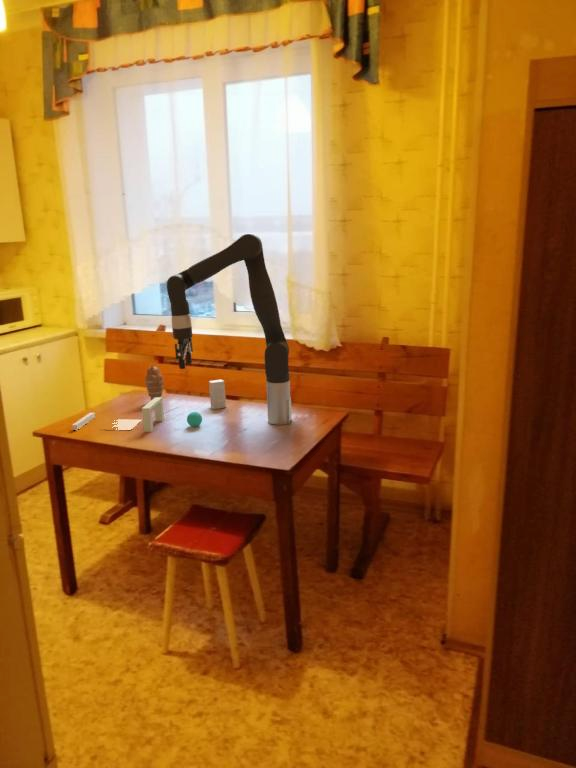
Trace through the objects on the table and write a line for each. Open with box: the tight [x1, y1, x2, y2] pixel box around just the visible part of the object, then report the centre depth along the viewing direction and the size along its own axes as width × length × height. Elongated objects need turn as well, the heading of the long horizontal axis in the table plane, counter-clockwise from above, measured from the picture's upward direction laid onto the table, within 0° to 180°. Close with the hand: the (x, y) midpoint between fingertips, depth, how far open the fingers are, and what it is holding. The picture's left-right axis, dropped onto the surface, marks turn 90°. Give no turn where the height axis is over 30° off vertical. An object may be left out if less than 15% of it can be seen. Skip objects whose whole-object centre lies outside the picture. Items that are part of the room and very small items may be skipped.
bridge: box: [141, 396, 165, 433], centre depth 240 cm, size 3×15×10 cm, turn 172°
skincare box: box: [208, 379, 227, 410], centre depth 262 cm, size 6×4×12 cm
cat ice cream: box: [144, 363, 164, 401], centre depth 269 cm, size 9×8×18 cm
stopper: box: [71, 412, 96, 431], centre depth 245 cm, size 2×16×2 cm, turn 172°
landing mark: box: [112, 418, 143, 431], centre depth 244 cm, size 13×13×1 cm
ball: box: [186, 411, 203, 428], centre depth 239 cm, size 6×6×6 cm
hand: (185, 366), depth 239 cm, fingers open, 8 cm apart
